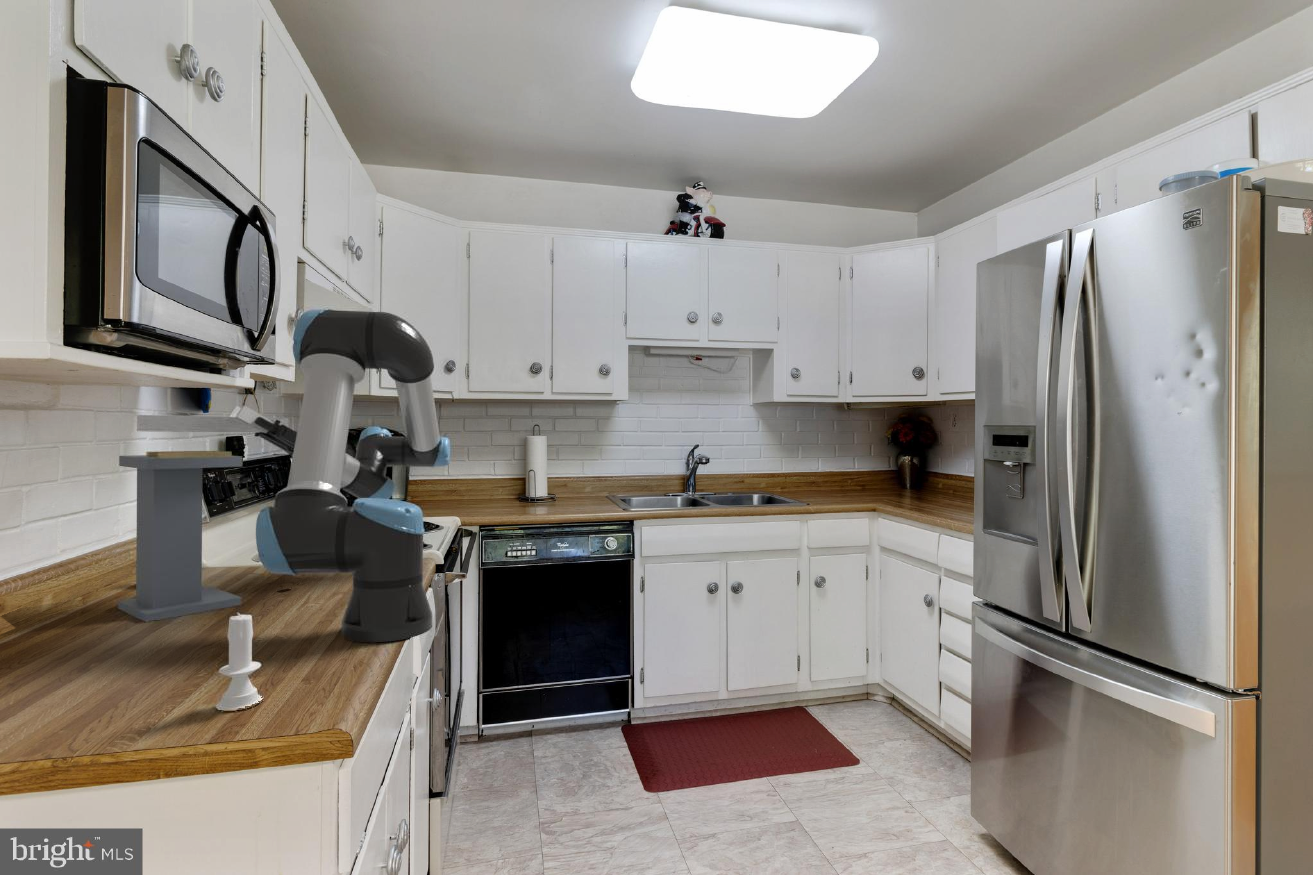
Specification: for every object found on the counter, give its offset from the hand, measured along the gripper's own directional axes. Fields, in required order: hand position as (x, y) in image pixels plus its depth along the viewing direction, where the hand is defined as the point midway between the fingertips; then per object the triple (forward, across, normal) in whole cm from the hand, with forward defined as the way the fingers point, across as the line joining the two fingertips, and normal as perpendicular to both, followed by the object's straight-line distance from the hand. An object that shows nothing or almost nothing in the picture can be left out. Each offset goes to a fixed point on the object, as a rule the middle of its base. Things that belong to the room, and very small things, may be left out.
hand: (236, 411), depth 137 cm
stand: (-12, +4, -38) cm, 40 cm away
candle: (-1, -55, -45) cm, 71 cm away
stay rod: (+1, 0, -5) cm, 5 cm away
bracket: (+3, 0, -12) cm, 12 cm away
